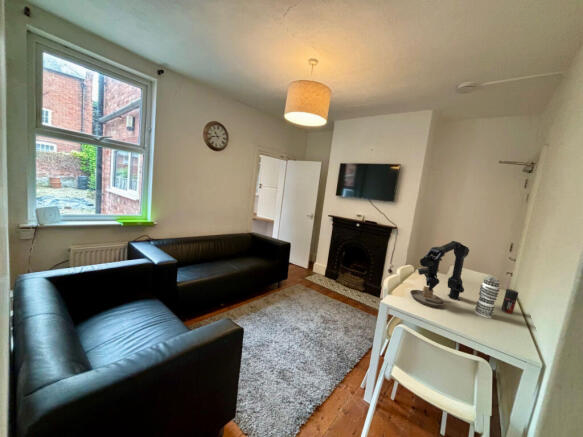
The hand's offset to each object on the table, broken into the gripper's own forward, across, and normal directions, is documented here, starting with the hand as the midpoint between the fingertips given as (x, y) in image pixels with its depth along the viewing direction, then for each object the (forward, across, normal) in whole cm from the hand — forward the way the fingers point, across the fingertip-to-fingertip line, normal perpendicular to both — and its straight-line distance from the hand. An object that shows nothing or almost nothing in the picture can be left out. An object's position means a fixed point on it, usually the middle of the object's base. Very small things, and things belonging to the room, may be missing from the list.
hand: (428, 288), depth 156 cm
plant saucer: (+10, 0, 0) cm, 10 cm away
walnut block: (+6, 0, 0) cm, 6 cm away
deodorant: (+9, -19, +52) cm, 56 cm away
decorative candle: (+9, -2, +33) cm, 35 cm away
